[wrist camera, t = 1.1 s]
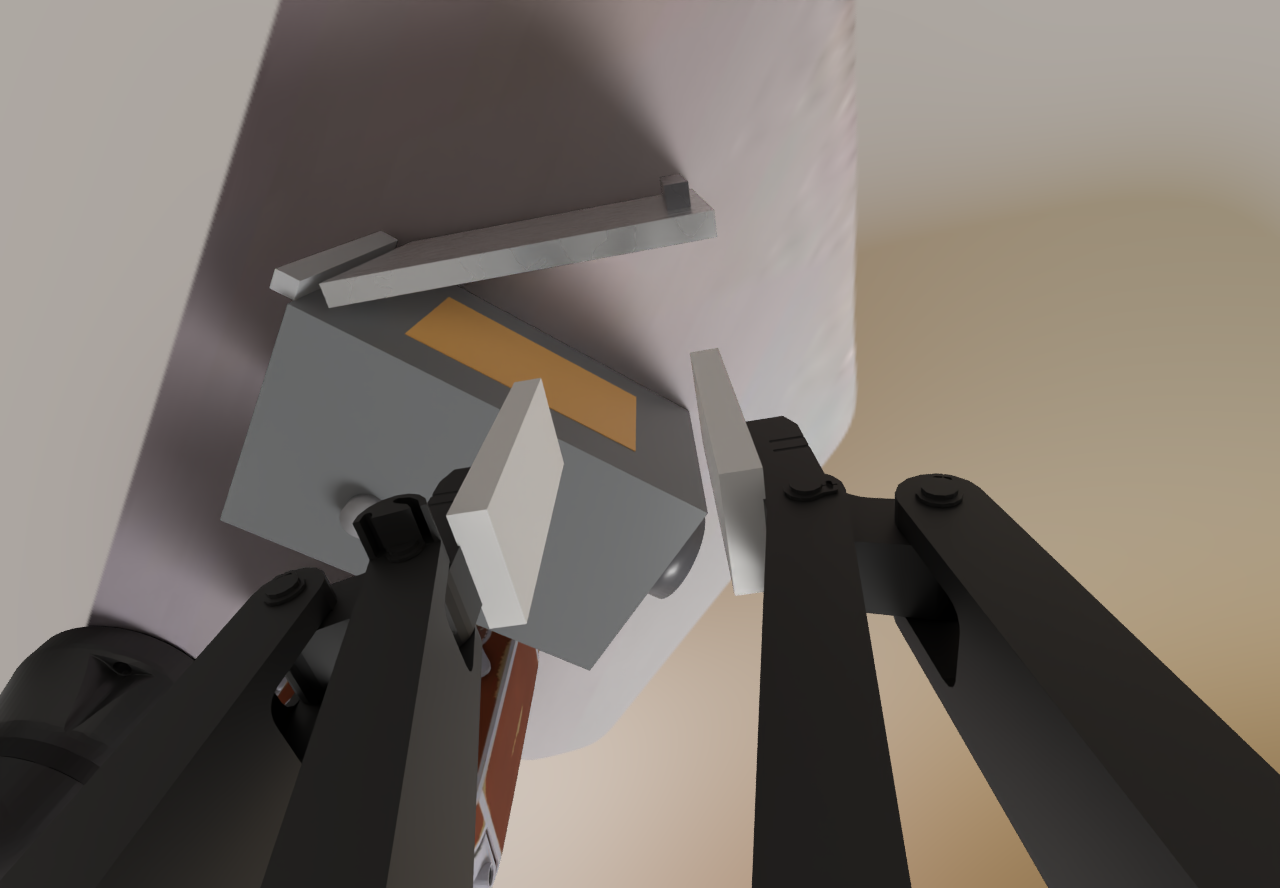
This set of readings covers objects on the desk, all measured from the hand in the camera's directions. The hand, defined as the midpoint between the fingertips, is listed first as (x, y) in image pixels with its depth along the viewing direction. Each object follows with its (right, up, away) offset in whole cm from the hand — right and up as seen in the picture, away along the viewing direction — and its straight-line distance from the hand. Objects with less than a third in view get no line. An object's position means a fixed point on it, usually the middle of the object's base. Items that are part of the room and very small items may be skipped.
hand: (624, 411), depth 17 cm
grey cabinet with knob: (-8, +1, +23) cm, 24 cm away
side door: (-5, +12, +17) cm, 21 cm away
